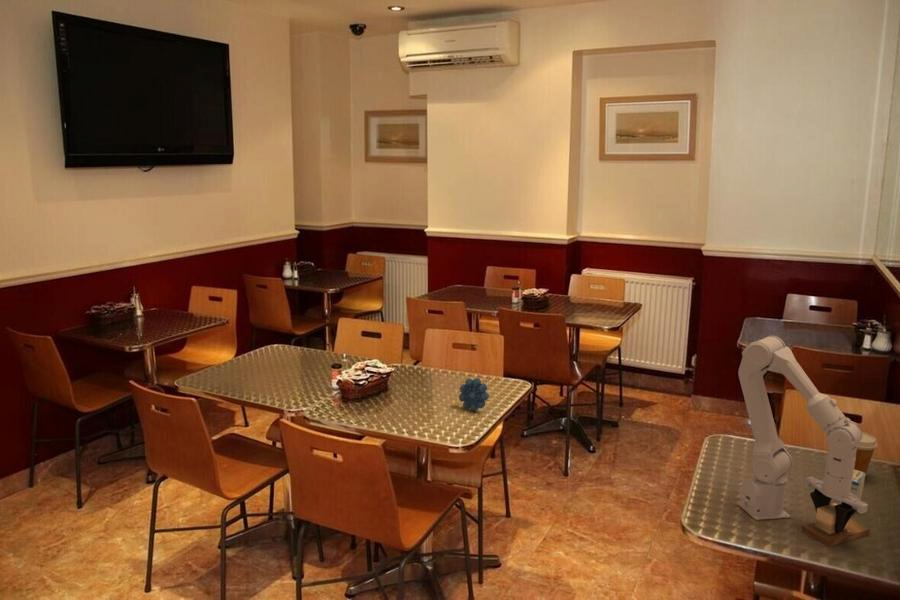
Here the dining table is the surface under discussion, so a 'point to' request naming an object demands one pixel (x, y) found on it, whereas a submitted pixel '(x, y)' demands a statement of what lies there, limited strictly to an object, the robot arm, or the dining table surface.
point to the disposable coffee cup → (864, 452)
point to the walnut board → (852, 533)
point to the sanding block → (827, 519)
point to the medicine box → (856, 484)
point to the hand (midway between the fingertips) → (830, 526)
